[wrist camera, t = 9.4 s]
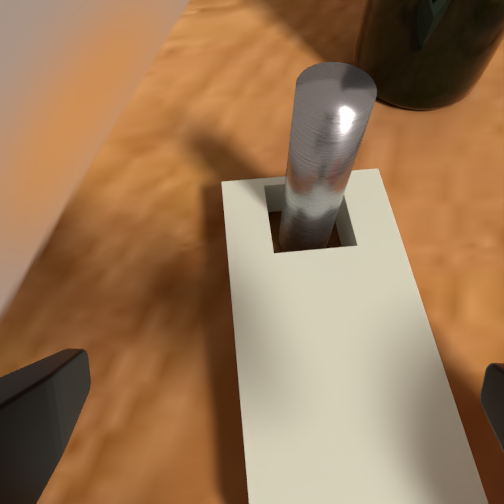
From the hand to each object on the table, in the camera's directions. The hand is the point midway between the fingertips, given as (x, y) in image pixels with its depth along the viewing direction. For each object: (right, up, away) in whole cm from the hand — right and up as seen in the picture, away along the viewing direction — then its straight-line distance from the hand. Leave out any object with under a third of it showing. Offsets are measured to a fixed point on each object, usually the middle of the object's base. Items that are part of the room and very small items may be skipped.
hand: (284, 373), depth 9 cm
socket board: (+3, -2, +14) cm, 15 cm away
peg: (+3, +4, +17) cm, 18 cm away
